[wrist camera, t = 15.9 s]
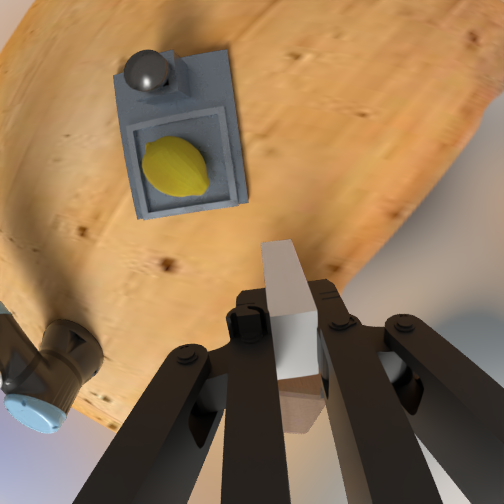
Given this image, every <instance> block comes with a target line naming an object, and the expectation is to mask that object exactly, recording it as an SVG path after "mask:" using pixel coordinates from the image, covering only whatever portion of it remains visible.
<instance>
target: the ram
mask: <svg viewBox="0 0 504 504" xmlns="http://www.w3.org/2000/svg"><path fill="white" fill-rule="evenodd" d="M169 73H170V67H169V63H168V61H167V60H166V59H165V58H164V57H163V56H162V55H161V54H159V53H158V52H156V51H153V50H142V51H139V52H137V53H136V54H134V55H133V56H132V57H131V58H130V59H129V60H128V61H127V63H126V65H125V68H124V79H125V81H126V83H127V85H128V86H129V87H131V88H132V89H134V90H137V91H140V92H146V93H148V92H153V91H156V90H158V89H159V88H161V87H162V86H166V85H169V80H168V77H169Z"/></svg>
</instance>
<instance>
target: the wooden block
mask: <svg viewBox="0 0 504 504" xmlns="http://www.w3.org/2000/svg"><path fill="white" fill-rule="evenodd" d="M318 370H319V374H316V375H309V376H302V377H295V378H288V379H280V380H278V388H279V397H280V406H281V415H282V424H283V433H293V434H305V433H307V432H308V431H309V429H310V428H311V426H312V425H313V423H314V422H315V420H316V419H317V417H318V416H319V414H320V413H321V411H322V409H323V408H324V406H325V405H326V404H325V400H324V398H321V373H320V369H319V365H318ZM320 398H321V399H320Z"/></svg>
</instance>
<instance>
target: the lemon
mask: <svg viewBox="0 0 504 504" xmlns="http://www.w3.org/2000/svg"><path fill="white" fill-rule="evenodd" d="M142 168H143V172H144V174H145V176H146V178H147V179H148V181H149V182H150V183H151V184H152V185H153V186H154V187H155V188H156V189H157V190H159V191H160V192H162V193H164V194H167V195H171V196H176V197H185V196H190V195H196V196H198V195H202V194H204V193H205V191H206V190H207V188H208V186H209V178H208V176H207V169H206V164H205V161H204V159H203V157H202V155H201V154H200V152H199V151H198V150H197V149H196V148H195V147H194V146H193V145H192V144H190V143H189V142H188V141H186V140H184V139H182V138H179V137H175V136H164V137H161V138H159V139H157V140H156V141H153V142H147V143H146V146H145V155H144V157H143V160H142Z"/></svg>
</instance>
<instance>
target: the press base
mask: <svg viewBox="0 0 504 504" xmlns="http://www.w3.org/2000/svg"><path fill="white" fill-rule="evenodd" d="M159 54H161V55H162V56H163V57H164V58H165V59H166V60H167V61H168V63H169V67H170V73H169V77H168V80H169V85H166V86H162V87H161V88H159V89H158V90H156V91H153V92H148V93H146V92H140V91H137V90H134V89H132V88H131V87H129V86H128V85H127V83H126V81H125V79H124V72H123V73H120V74H117V75H113V79H114V88H115V96H116V104H117V111H118V118H119V125H120V132H121V138H122V144H123V150H124V156H125V161H126V167H127V172H128V177H129V182H130V187H131V192H132V197H133V202H134V206H135V211H136V215H137V220H138V219H143V220H148V219H154V218H160V217H166V216H173V215H179V214H185V213H192V212H199V211H205V210H212V209H219V208H227V207H234V206H238V205H239V204H243V203H248V194H247V187H246V180H245V172H244V165H243V158H242V151H241V143H240V136H239V129H238V122H237V115H236V108H235V101H234V93H233V86H232V79H231V72H230V65H229V58H228V51H227V49H226V50H219V51H213V52H207V53H202V54H196V55H191V56H186V57H180V56H179V55H178V54H177V53H176V52H175V51H174V50H169V51H165V52H161V53H159ZM164 136H175V137H179V138H182V139H184V140H186V141H188V142H189V143H190V144H192V145H193V146H194V147H195V148H196V149H197V150H198V151H199V152H200V154H201V155H202V157H203V159H204V161H205V164H206V169H207V176H208V178H209V186H208V188H207V190H206V191H205V193H204V194H202V195H198V196H196V195H190V196H185V197H176V196H171V195H167V194H164V193H162V192H160V191H159V190H157V189H156V188H155V187H154V186H153V185H152V184H151V183H150V182H149V181H148V179H147V178H146V176H145V174H144V172H143V168H142V160H143V157H144V155H145V146H146V143H147V142H153V141H156V140H157V139H159V138H161V137H164Z"/></svg>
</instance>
